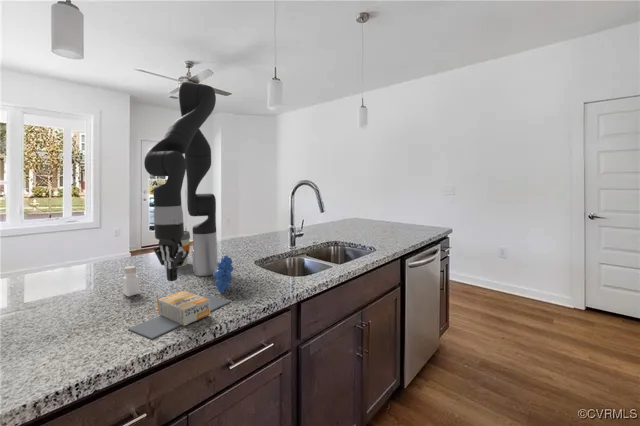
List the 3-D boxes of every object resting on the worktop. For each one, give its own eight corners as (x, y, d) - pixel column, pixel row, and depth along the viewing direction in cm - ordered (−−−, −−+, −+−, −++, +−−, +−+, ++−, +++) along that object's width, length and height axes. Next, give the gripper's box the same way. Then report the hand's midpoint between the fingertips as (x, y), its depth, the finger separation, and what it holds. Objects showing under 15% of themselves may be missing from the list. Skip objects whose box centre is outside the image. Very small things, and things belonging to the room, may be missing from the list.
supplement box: (182, 289, 94) (210, 298, 86) (183, 304, 94) (211, 314, 87) (156, 298, 87) (183, 309, 80) (157, 314, 87) (184, 326, 80)
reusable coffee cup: (184, 268, 134) (182, 235, 132) (155, 268, 134) (153, 235, 133) (196, 261, 146) (194, 230, 145) (170, 261, 147) (168, 230, 145)
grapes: (220, 283, 114) (219, 252, 113) (237, 284, 114) (236, 252, 112) (205, 295, 103) (204, 260, 102) (224, 296, 102) (223, 261, 101)
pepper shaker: (136, 291, 107) (134, 264, 106) (140, 293, 105) (138, 266, 103) (123, 294, 104) (121, 267, 103) (127, 297, 101) (125, 269, 100)
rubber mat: (128, 330, 79) (128, 328, 79) (208, 296, 102) (208, 295, 102) (152, 339, 74) (151, 338, 74) (230, 302, 97) (230, 301, 97)
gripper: (142, 221, 87) (146, 280, 89) (171, 224, 81) (175, 288, 83) (166, 218, 94) (169, 273, 96) (195, 221, 87) (198, 280, 89)
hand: (172, 280), depth 89 cm, fingers closed
